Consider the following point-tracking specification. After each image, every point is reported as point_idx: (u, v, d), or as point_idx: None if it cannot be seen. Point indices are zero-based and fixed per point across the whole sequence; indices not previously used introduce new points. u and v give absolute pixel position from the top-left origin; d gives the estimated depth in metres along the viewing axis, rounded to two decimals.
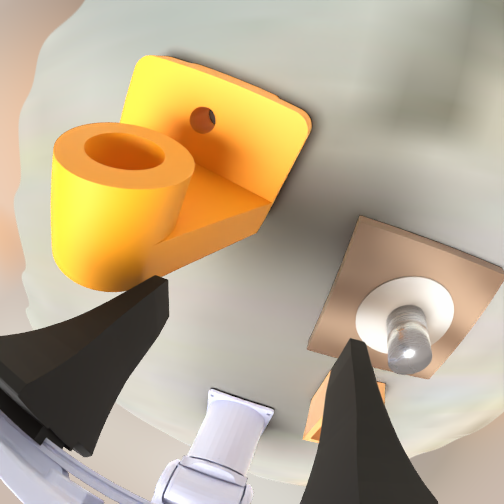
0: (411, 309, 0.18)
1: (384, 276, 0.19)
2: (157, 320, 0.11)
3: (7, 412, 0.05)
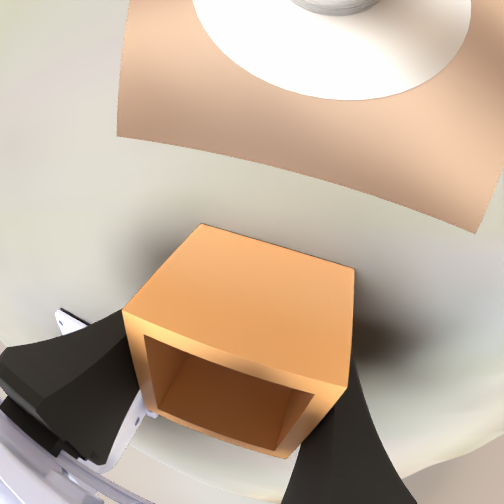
0: None
1: None
2: None
3: (20, 424, 0.05)
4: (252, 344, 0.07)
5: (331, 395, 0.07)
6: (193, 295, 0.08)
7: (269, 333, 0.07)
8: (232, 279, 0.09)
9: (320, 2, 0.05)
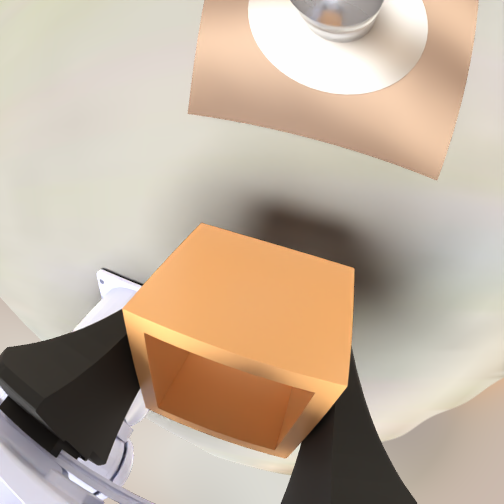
0: None
1: None
2: None
3: (20, 424, 0.05)
4: (252, 343, 0.07)
5: (331, 394, 0.07)
6: (193, 294, 0.08)
7: (269, 332, 0.07)
8: (232, 278, 0.09)
9: (333, 37, 0.09)
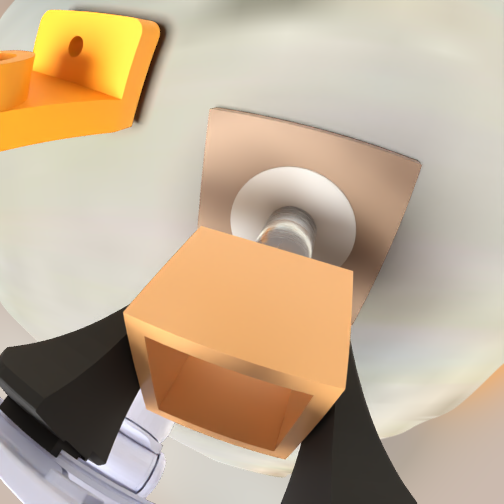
0: (289, 209, 0.17)
1: (249, 170, 0.17)
2: None
3: (20, 424, 0.05)
4: (252, 346, 0.07)
5: (329, 397, 0.07)
6: (193, 297, 0.08)
7: (268, 335, 0.08)
8: (232, 281, 0.09)
9: None
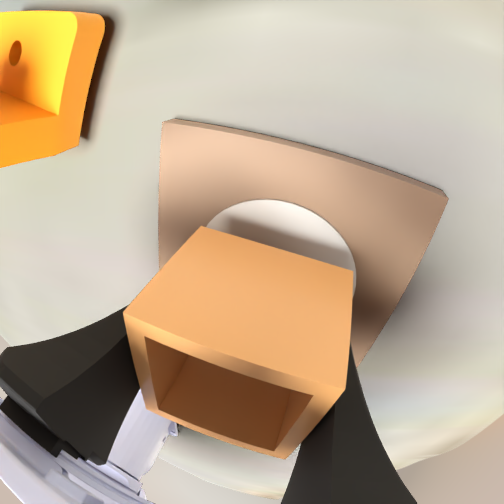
0: None
1: (216, 202, 0.13)
2: None
3: (20, 424, 0.05)
4: (252, 346, 0.07)
5: (330, 397, 0.07)
6: (193, 297, 0.08)
7: (268, 335, 0.08)
8: (232, 281, 0.09)
9: None
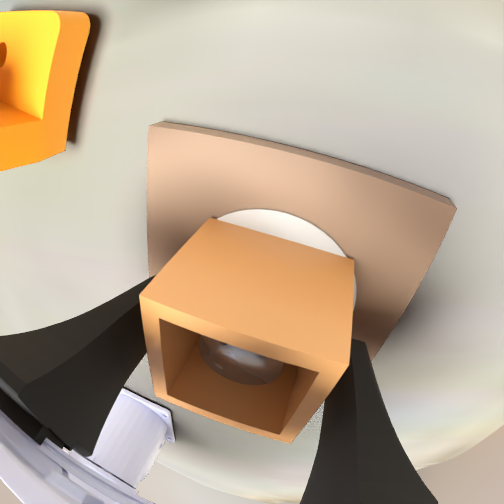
0: None
1: (206, 212, 0.12)
2: None
3: (7, 412, 0.05)
4: (261, 325, 0.08)
5: (334, 374, 0.07)
6: (205, 281, 0.09)
7: (276, 315, 0.08)
8: (241, 267, 0.10)
9: None
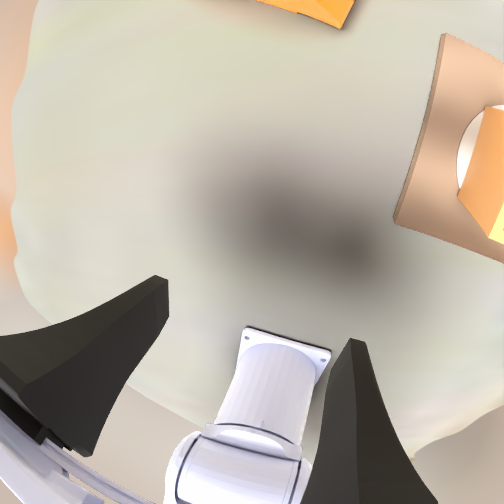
0: None
1: (481, 102, 0.11)
2: (157, 320, 0.11)
3: (7, 412, 0.05)
4: None
5: None
6: None
7: None
8: None
9: None
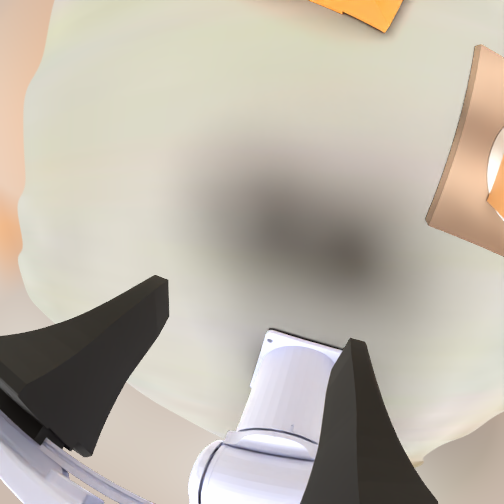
0: None
1: None
2: (157, 320, 0.11)
3: (7, 412, 0.05)
4: None
5: None
6: None
7: None
8: None
9: None
